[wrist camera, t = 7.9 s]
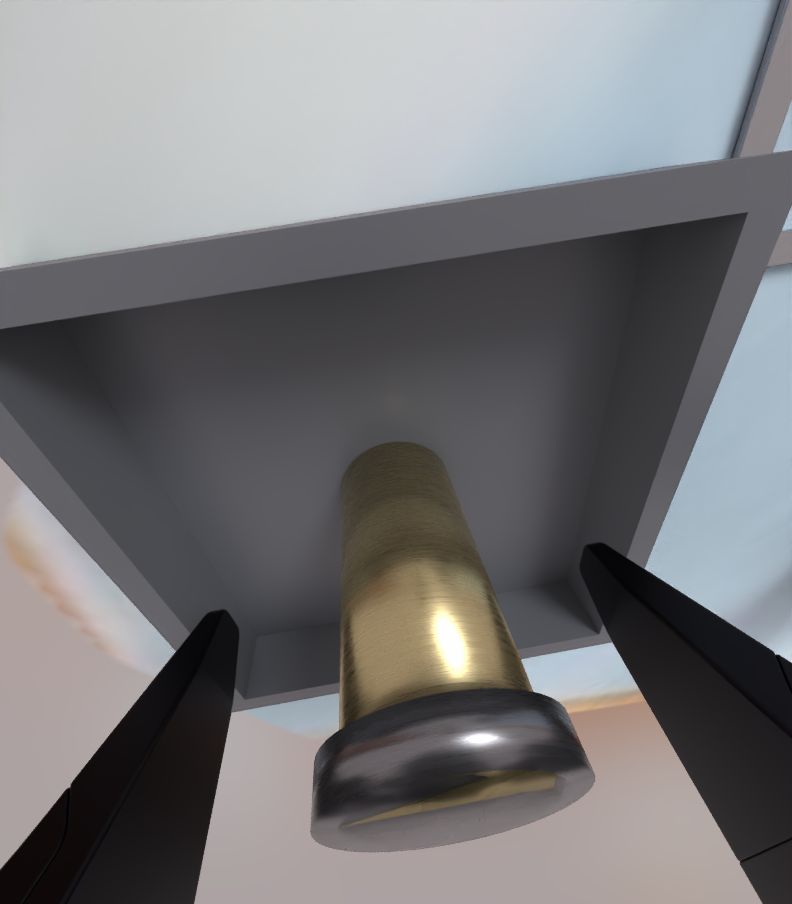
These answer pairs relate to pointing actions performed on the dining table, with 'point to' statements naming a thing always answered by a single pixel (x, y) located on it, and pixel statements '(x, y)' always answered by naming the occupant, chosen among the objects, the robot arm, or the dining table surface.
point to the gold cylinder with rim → (430, 679)
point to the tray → (384, 394)
